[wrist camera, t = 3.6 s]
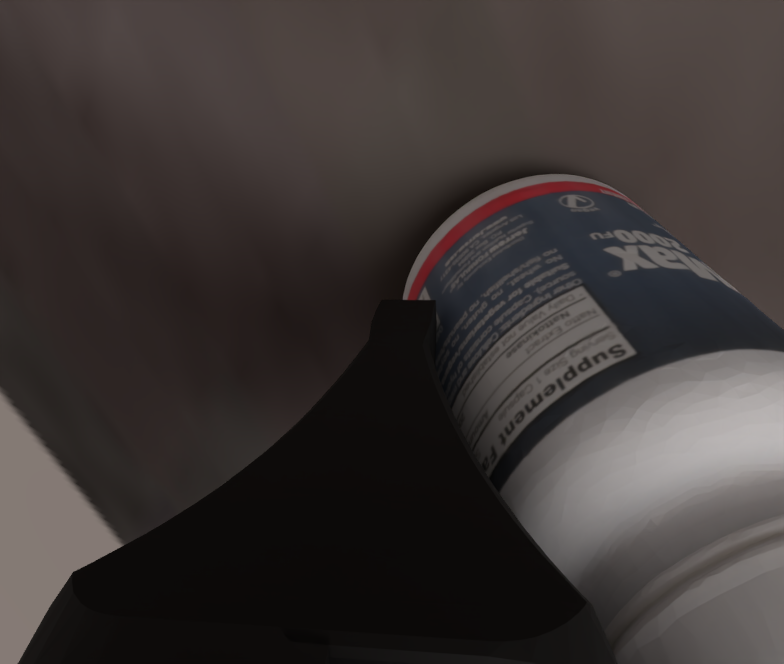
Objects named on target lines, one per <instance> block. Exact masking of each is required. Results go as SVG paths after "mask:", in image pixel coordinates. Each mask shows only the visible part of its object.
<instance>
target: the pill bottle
mask: <svg viewBox="0 0 784 664" xmlns="http://www.w3.org/2000/svg"><path fill="white" fill-rule="evenodd" d="M403 300H436V319H437V329H436V355H435V368H436V371H437V374H438V377H439V380H440V383H441V385H442V388H443V390H444V393H445V395H446V398H447V400H448V402H449V405H450V407H451V409H452V411H453V414H454V416H455V418H456V420H457V422H458V424H459V426H460V428H461V430H462V432H463V434H464V436H465V438H466V440H467V442H468V444H469V445H470V447H471V449H472V451H473V453H474V454H475V456H476V458H477V459H478V461H479V463H480V464H481V466H482V468H483V469H484V471H485V473H486V474H487V476H488V477H489V479H490V481H491V482H492V484H493V485H494V487H495V488H496V489H497V491H498V492H499V493H500V495H501V496H502V498H503V499H504V500H505V502H506V503H507V505H508V506H509V507H510V509H511V510H512V512H513V513H514V514H515V516H516V517H517V519H518V520H519V521H520V523H521V524H522V526H523V527H524V528H525V529H526V531H527V532H528V533H529V534H530V536H531V537H532V538H533V539H534V540H535V542H536V543H537V544H538V545H539V547H540V548H541V549H542V550H543V551H544V553H545V554H546V555H547V556H548V557H549V559H550V560H551V561H552V562H553V563H554V564H555V565H556V566H557V568H558V569H559V570H560V571H561V572H562V573H563V574H564V575H565V577H566V578H567V579H568V580H569V581H570V582H571V583H572V584H573V585H574V586H575V587H576V588H577V589H578V590H579V591H580V593H581V594H582V595H583V596H584V597H585V598H586V599H587V600H588V601H589V602H590V603H591V604H592V606H593V608H594V610H595V612H596V615H597V617H598V619H599V621H600V623H601V626H602V628H603V630H604V632H605V635H606V637H607V639H608V641H609V644H610V646H611V649H612V651H613V653H614V656H615V658H616V661H617V663H618V664H784V330H783V329H782V328H781V327H779V326H778V325H777V324H776V323H774V322H773V321H772V320H771V319H770V318H769V317H767V316H766V315H765V314H764V313H763V312H761V311H760V310H759V309H758V308H757V307H756V306H755V305H754V304H752V303H751V302H750V301H749V300H748V299H747V298H745V297H744V296H743V295H741V294H740V293H739V292H738V291H737V290H736V289H735V288H734V287H733V286H732V285H730V284H729V283H728V282H726V281H725V280H724V279H723V278H721V277H720V276H719V275H718V274H717V273H715V272H714V271H713V270H712V269H711V268H710V267H708V266H707V265H706V264H705V263H704V262H702V261H701V260H700V259H699V258H698V257H697V256H695V255H694V254H693V253H692V252H691V251H690V250H689V249H688V248H686V247H685V246H684V245H683V244H682V243H681V242H679V241H678V240H677V239H676V238H675V237H674V236H673V235H671V234H670V233H669V232H668V231H667V230H666V229H665V228H663V227H662V226H661V225H660V224H659V223H658V222H657V221H655V220H654V219H653V218H652V217H651V216H650V215H649V214H647V213H646V212H645V211H644V210H643V209H642V208H640V207H639V206H638V205H637V204H635V203H634V202H633V201H632V200H630V199H629V198H628V197H626V196H625V195H624V194H622V193H621V192H619V191H617V190H616V189H614V188H612V187H610V186H609V185H606V184H604V183H601V182H599V181H596V180H594V179H590V178H586V177H582V176H576V175H568V174H545V175H535V176H529V177H525V178H521V179H518V180H514V181H510V182H507V183H505V184H502V185H499V186H497V187H494V188H492V189H490V190H488V191H486V192H484V193H482V194H480V195H479V196H477V197H475V198H474V199H472V200H471V201H469V202H468V203H466V204H465V205H464V206H462V207H461V208H460V209H458V210H457V211H456V212H455V213H453V214H452V215H451V216H450V217H449V218H448V219H447V220H445V221H444V222H443V223H442V225H441V226H440V227H439V228H438V229H437V230H436V231H435V232H434V233H433V235H432V236H431V237H430V238H429V240H428V241H427V242H426V244H425V245H424V247H423V249H422V250H421V252H420V253H419V255H418V256H417V258H416V260H415V262H414V264H413V267H412V269H411V271H410V273H409V276H408V279H407V282H406V286H405V290H404V295H403Z"/></svg>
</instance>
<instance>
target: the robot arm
mask: <svg viewBox="0 0 784 664" xmlns="http://www.w3.org/2000/svg"><path fill="white" fill-rule="evenodd" d="M436 329H437V319H436V300H381V302H380V304H379V306H378V308H377V310H376V312H375V315H374V317H373V320H372V323H371V330H370V337H369V341H368V342H367V343H366V345H365V346H364V347H363V349H362V350H361V351H360V352H359V354H358V355H357V356H356V358H355V359H354V360H353V361H352V363H351V364H350V365H349V366H348V368H347V369H346V370H345V371H344V373H343V374H342V375H341V376H340V377H339V379H338V380H337V381H336V382H335V383H334V384H333V385H332V386H331V388H330V389H329V390H328V391H327V392H326V393H325V394H324V395H323V396H322V398H321V399H320V400H319V401H318V402H317V403H316V404H315V405H314V406H313V407H312V409H311V410H310V411H309V412H308V413H307V414H306V415H305V416H304V417H303V418H302V419H301V420H300V421H299V422H298V423H297V424H295V425H294V426H293V427H292V428H291V429H290V430H289V431H288V432H287V433H286V434H285V435H284V436H283V437H281V438H280V439H279V440H278V441H277V442H276V443H275V444H274V445H273V446H271V447H270V448H269V449H268V450H267V451H266V452H264V453H263V454H262V455H261V456H259V457H258V458H257V459H256V460H254V461H253V462H252V463H251V464H249V465H248V466H247V467H246V468H244V469H243V470H242V471H240V472H239V473H238V474H236V475H235V476H234V477H232V478H231V479H230V480H229V481H227V482H226V483H225V484H223V485H222V486H220V487H219V488H218V489H216V490H215V491H213V492H212V493H210V494H209V495H207V496H206V497H204V498H203V499H201V500H200V501H198V502H197V503H195V504H194V505H192V506H191V507H189V508H188V509H186V510H184V511H183V512H181V513H180V514H178V515H176V516H175V517H173V518H172V519H170V520H168V521H167V522H165V523H163V524H162V525H160V526H158V527H157V528H155V529H153V530H151V531H150V532H148V533H146V534H145V535H143V536H141V537H139V538H137V539H135V540H133V541H132V542H130V543H128V544H126V545H124V546H122V547H120V548H119V549H117V550H115V551H113V552H111V553H109V554H107V555H106V556H104V557H102V558H100V559H98V560H96V561H95V562H93V563H91V564H89V565H87V566H85V567H83V568H81V569H79V570H77V571H74V572H73V573H72V575H71V576H70V578H69V579H68V581H67V582H66V584H65V585H64V587H63V588H62V590H61V591H60V593H59V594H58V596H57V597H56V599H55V600H54V601H53V603H52V604H51V606H50V608H49V610H48V611H47V613H46V615H45V616H44V618H43V620H42V622H41V624H40V625H39V627H38V629H37V631H36V632H35V634H34V636H33V638H32V639H31V641H30V643H29V645H28V647H27V648H26V650H25V652H24V654H23V656H22V657H21V659H20V661H19V663H18V664H618V663H617V661H616V658H615V656H614V653H613V651H612V649H611V646H610V644H609V641H608V639H607V637H606V635H605V632H604V630H603V628H602V626H601V623H600V621H599V619H598V617H597V615H596V612H595V610H594V608H593V606H592V604H591V603H590V602H589V601H588V600H587V599H586V598H585V597H584V596H583V595H582V594H581V593H580V591H579V590H578V589H577V588H576V587H575V586H574V585H573V584H572V583H571V582H570V581H569V580H568V579H567V578H566V577H565V575H564V574H563V573H562V572H561V571H560V570H559V569H558V568H557V566H556V565H555V564H554V563H553V562H552V561H551V560H550V559H549V557H548V556H547V555H546V554H545V553H544V551H543V550H542V549H541V548H540V547H539V545H538V544H537V543H536V542H535V540H534V539H533V538H532V537H531V536H530V534H529V533H528V532H527V531H526V529H525V528H524V527H523V526H522V524H521V523H520V521H519V520H518V519H517V517H516V516H515V514H514V513H513V512H512V510H511V509H510V507H509V506H508V505H507V503H506V502H505V500H504V499H503V498H502V496H501V495H500V493H499V492H498V491H497V489H496V488H495V487H494V485H493V484H492V482H491V481H490V479H489V477H488V476H487V474H486V473H485V471H484V469H483V468H482V466H481V464H480V463H479V461H478V459H477V458H476V456H475V454H474V453H473V451H472V449H471V447H470V445H469V444H468V442H467V440H466V438H465V436H464V434H463V432H462V430H461V428H460V426H459V424H458V422H457V420H456V418H455V416H454V414H453V411H452V409H451V407H450V405H449V402H448V400H447V398H446V395H445V393H444V390H443V388H442V385H441V383H440V380H439V377H438V374H437V371H436V368H435V355H436Z"/></svg>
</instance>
